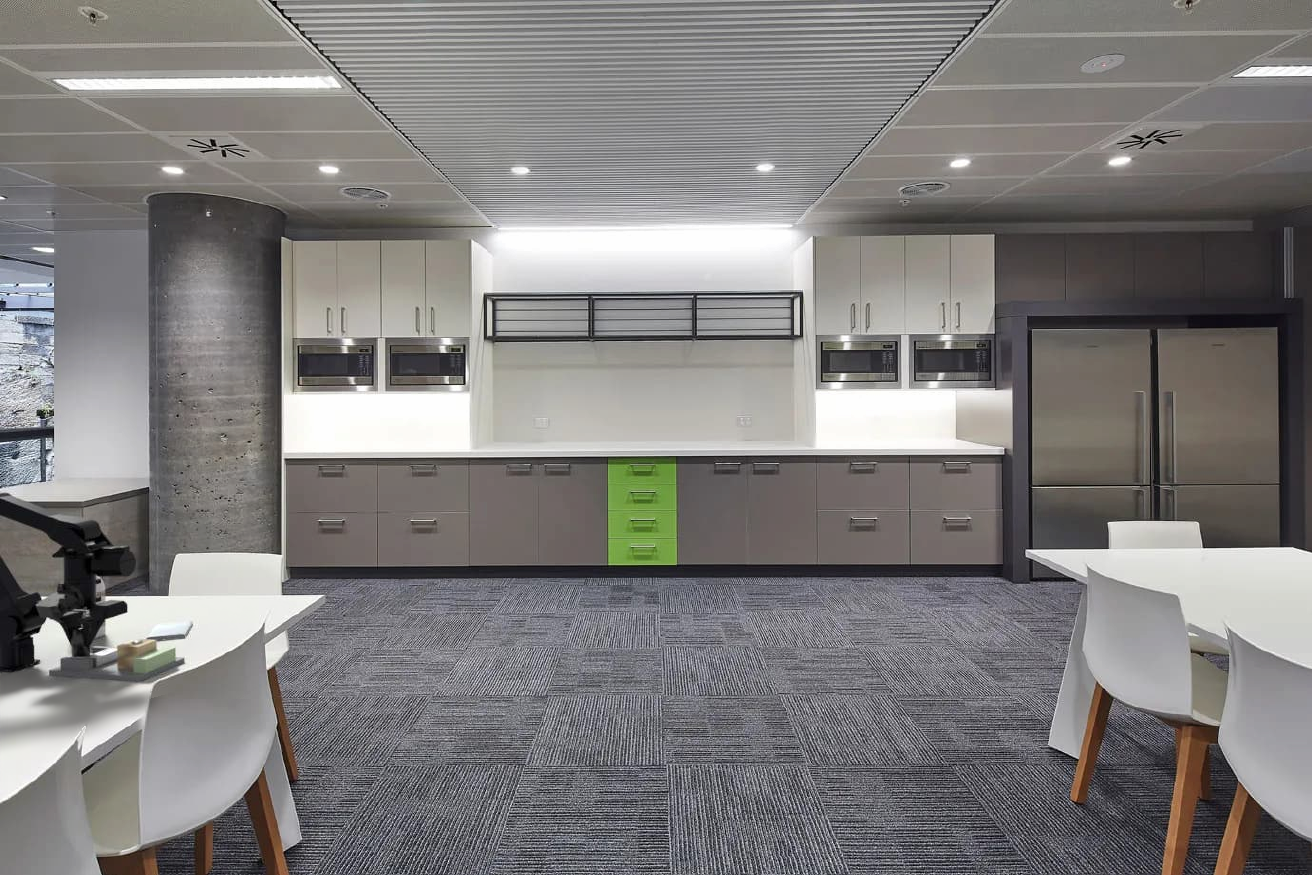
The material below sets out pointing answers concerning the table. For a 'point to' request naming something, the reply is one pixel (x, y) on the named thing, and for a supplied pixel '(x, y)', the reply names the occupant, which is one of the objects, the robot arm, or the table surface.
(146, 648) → the housing
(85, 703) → the table surface
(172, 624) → the hard drive
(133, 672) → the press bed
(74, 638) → the ram
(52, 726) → the table surface
